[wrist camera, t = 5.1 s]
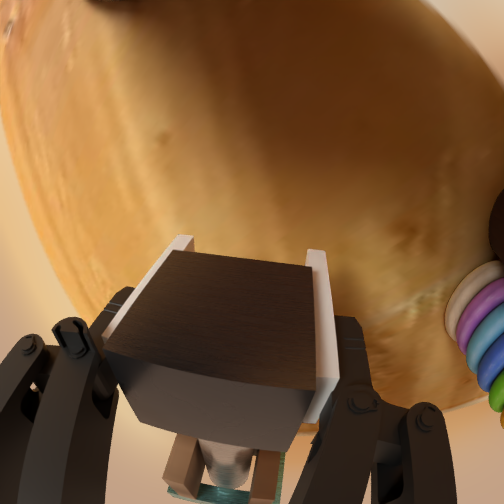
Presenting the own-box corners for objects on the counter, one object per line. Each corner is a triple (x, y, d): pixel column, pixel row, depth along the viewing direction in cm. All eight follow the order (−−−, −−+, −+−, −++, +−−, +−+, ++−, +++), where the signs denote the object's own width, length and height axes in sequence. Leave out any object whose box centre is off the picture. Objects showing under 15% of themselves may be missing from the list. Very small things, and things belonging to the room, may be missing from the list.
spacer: (192, 410, 21) (166, 491, 14) (287, 424, 20) (278, 511, 13) (195, 421, 22) (173, 496, 15) (283, 435, 21) (274, 514, 14)
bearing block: (180, 317, 22) (113, 460, 11) (328, 338, 21) (330, 501, 10) (187, 362, 25) (141, 483, 14) (312, 380, 24) (306, 513, 13)
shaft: (173, 249, 10) (101, 348, 6) (312, 266, 10) (315, 390, 5) (203, 440, 19) (189, 492, 14) (265, 450, 18) (256, 504, 14)
